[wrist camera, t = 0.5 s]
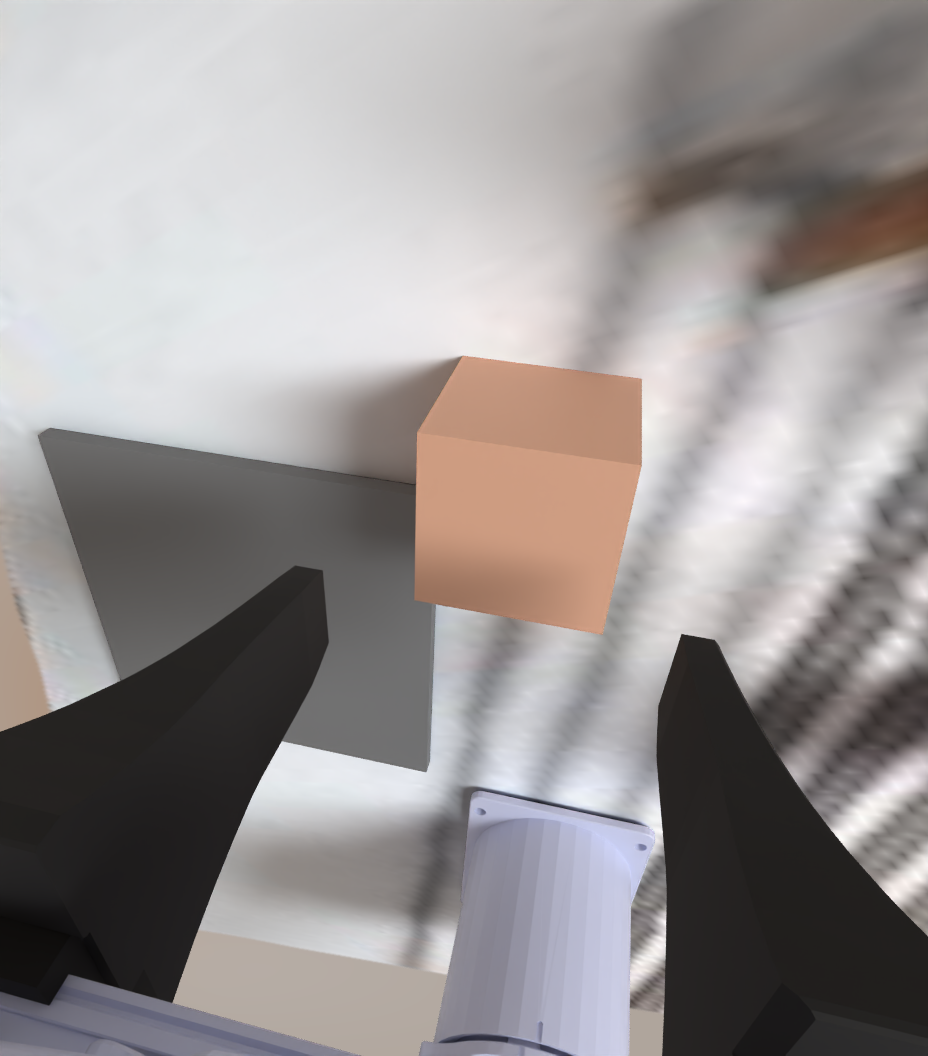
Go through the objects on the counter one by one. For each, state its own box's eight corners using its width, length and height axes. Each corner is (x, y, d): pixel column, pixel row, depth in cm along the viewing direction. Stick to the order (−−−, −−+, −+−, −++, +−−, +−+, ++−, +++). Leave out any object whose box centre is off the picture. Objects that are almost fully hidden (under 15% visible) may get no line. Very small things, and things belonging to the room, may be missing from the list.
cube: (609, 527, 22) (602, 634, 18) (455, 502, 22) (414, 600, 18) (641, 377, 19) (641, 465, 15) (463, 354, 20) (416, 432, 16)
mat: (429, 760, 30) (426, 772, 30) (138, 698, 32) (130, 708, 32) (440, 489, 22) (435, 498, 22) (49, 428, 24) (37, 435, 24)
